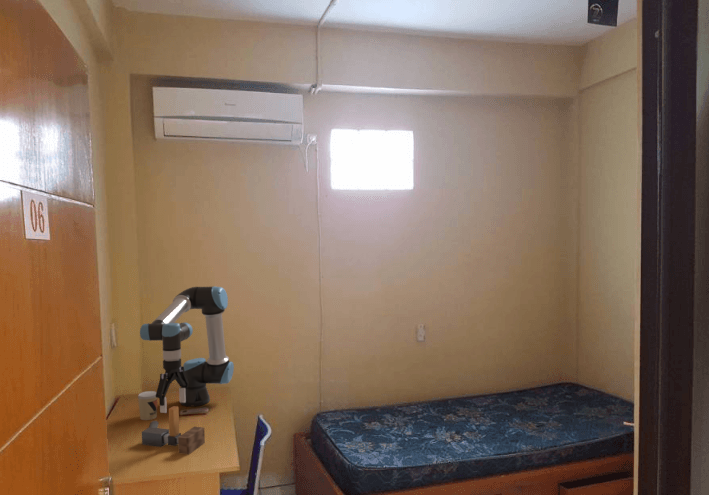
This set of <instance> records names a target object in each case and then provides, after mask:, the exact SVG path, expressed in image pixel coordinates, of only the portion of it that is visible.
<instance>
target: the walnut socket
mask: <svg viewBox="0 0 709 495" xmlns="http://www.w3.org/2000/svg"><path fill="white" fill-rule="evenodd" d="M205 434H206V433H205V427H204V426H203V427H202V426H192V427H191V428H190V429H188V430H187V431H185V432H183V433H181V436H179V437H178V453H179V454H183V455H188V456H189V455H190V454H192V453H193V452H195V451H196V450H197V449H199V448H200V447H201V446H203V445H205V444H206V442H205V441H206V440H205V439H206V438H205V437H206V436H205Z"/></svg>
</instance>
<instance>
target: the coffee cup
mask: <svg viewBox="0 0 709 495" xmlns="http://www.w3.org/2000/svg"><path fill="white" fill-rule="evenodd" d="M156 392H157V391H155V390H154V391H153V390H149V391H142V392H140V393H139V394H138V395H137V399H138V400H137V401H138V402H137V403H138V410H139V411H138V412H139V418H140V420H142V421H149V420H154V419H156V418H157V416H158V398H156Z"/></svg>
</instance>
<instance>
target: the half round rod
mask: <svg viewBox="0 0 709 495" xmlns="http://www.w3.org/2000/svg"><path fill="white" fill-rule="evenodd" d="M158 426H159V421H157V420H152V421H150V423H149V427H154V428H159V427H158ZM149 427H148V428H149Z"/></svg>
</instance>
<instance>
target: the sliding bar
mask: <svg viewBox="0 0 709 495" xmlns="http://www.w3.org/2000/svg"><path fill="white" fill-rule="evenodd" d="M179 410H180V409H179V406H178V405H176V406H175V405H173V406H171V407H169V408H168V429H169V433H165V434H163V435H162V443H167V444H166V445H168V446H170V447H171V446H172V447H176V446H177V445H178V437H179V436H181V435H182V433H181V432H180V419H179V418H180V416H179V414H180V413H179V412H180V411H179Z"/></svg>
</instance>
